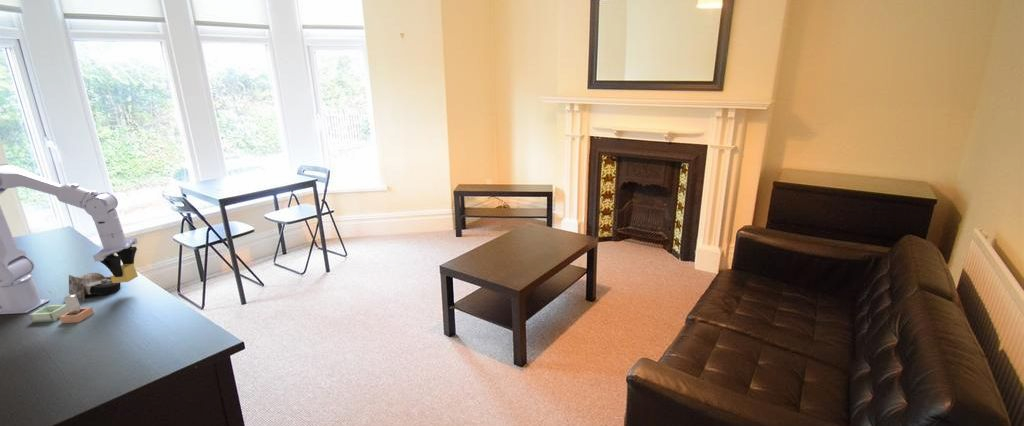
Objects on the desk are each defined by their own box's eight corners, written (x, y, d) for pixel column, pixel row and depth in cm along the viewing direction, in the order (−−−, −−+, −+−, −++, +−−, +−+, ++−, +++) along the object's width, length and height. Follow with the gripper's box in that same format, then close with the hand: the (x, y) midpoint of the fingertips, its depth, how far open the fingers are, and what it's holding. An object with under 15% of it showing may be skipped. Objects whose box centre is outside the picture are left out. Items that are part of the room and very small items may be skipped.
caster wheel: (126, 294, 156) (93, 304, 147) (101, 285, 159) (66, 294, 150) (126, 275, 155) (93, 285, 145) (101, 266, 158) (66, 275, 148)
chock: (112, 283, 148) (107, 269, 146) (122, 277, 152) (117, 264, 150) (128, 281, 148) (123, 268, 146) (137, 276, 152) (133, 263, 150)
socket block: (61, 323, 135) (59, 316, 134) (77, 314, 139) (74, 308, 139) (79, 322, 134) (76, 316, 134) (93, 313, 139) (91, 307, 139)
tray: (32, 322, 136) (29, 314, 135) (49, 312, 141) (46, 305, 140) (54, 321, 136) (51, 313, 135) (71, 311, 141) (68, 304, 140)
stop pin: (69, 320, 136) (61, 298, 134) (77, 316, 138) (69, 294, 136) (78, 320, 136) (70, 298, 133) (86, 315, 138) (78, 294, 136)
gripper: (104, 240, 138) (119, 282, 142) (141, 224, 152) (153, 263, 156) (80, 242, 138) (95, 284, 142) (119, 225, 152) (132, 264, 156)
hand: (124, 273), depth 149 cm, fingers closed on chock, 4 cm apart
